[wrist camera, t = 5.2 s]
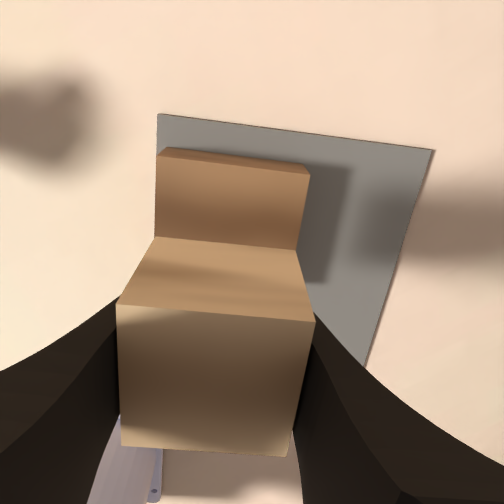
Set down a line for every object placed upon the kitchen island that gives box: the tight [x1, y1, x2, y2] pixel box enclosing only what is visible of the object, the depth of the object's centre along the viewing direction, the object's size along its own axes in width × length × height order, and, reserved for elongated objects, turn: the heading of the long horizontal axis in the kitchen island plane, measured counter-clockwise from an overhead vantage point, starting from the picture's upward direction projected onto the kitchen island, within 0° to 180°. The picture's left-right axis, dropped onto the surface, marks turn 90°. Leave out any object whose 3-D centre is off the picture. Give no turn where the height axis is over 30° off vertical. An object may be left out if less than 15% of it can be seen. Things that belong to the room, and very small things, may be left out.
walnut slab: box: [154, 147, 310, 251], centre depth 20 cm, size 7×7×2 cm
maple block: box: [116, 236, 316, 457], centre depth 11 cm, size 4×4×4 cm
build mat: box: [156, 114, 432, 366], centre depth 23 cm, size 18×14×1 cm
